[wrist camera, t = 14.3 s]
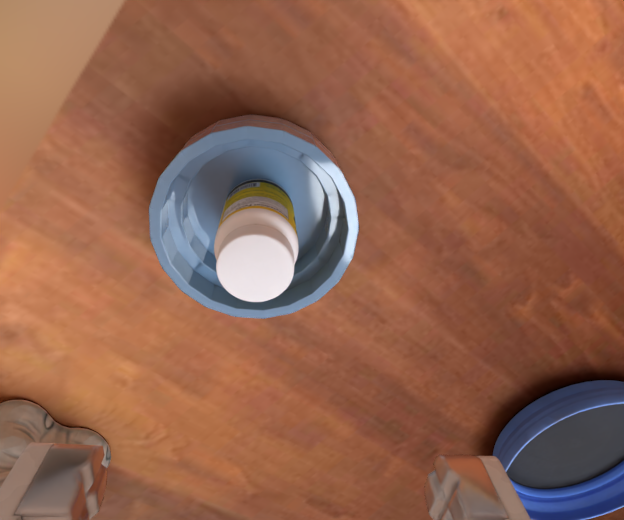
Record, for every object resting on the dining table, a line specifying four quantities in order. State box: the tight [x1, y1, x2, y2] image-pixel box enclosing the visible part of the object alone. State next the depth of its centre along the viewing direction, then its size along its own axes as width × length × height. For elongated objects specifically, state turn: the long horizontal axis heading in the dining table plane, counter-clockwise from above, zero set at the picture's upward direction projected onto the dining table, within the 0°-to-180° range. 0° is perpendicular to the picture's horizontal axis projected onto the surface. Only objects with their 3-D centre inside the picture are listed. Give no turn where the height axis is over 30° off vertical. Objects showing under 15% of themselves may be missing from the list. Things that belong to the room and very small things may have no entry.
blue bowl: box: [149, 114, 359, 319], centre depth 27 cm, size 12×12×4 cm
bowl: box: [493, 380, 624, 520], centre depth 42 cm, size 18×18×4 cm
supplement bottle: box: [214, 179, 299, 302], centre depth 25 cm, size 5×5×8 cm
